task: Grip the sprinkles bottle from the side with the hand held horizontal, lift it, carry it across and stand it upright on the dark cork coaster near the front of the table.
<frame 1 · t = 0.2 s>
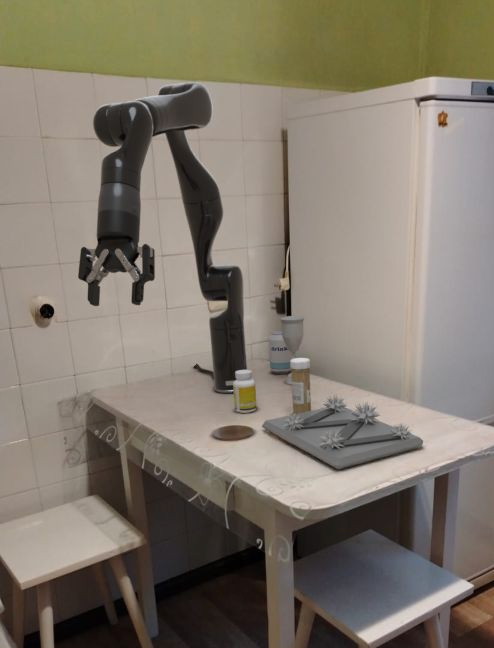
hand: (114, 304, 116), 31 cm above the table, tool tilted 20°, fingers open, 8 cm apart
coaster: (233, 433, 142), on the table
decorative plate: (338, 440, 135), on the table
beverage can: (281, 372, 194), on the table
supplement bottle: (245, 411, 158), on the table
sprinkles bottle: (301, 415, 152), on the table
chalice: (294, 382, 182), on the table
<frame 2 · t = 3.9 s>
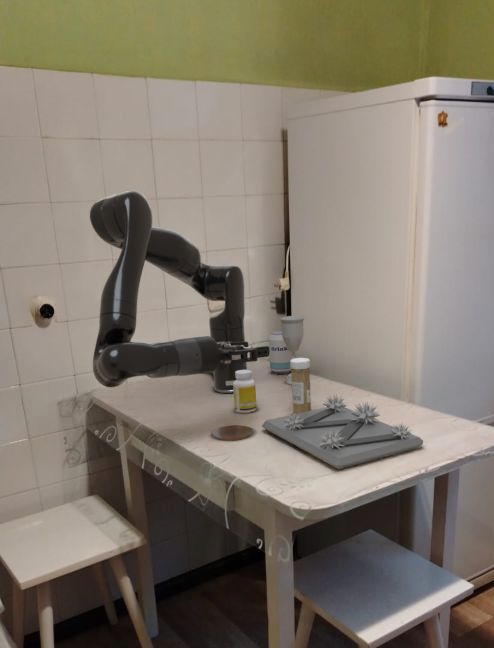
hand: (257, 348, 140), 18 cm above the table, tool horizontal, fingers open, 8 cm apart
nothing on the table moved.
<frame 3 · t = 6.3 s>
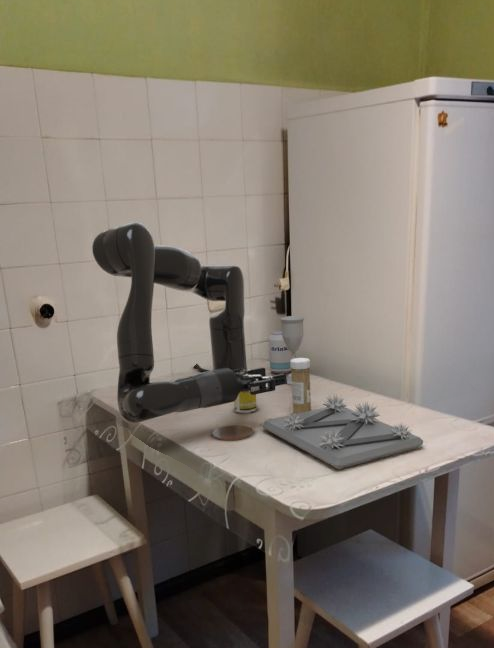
hand: (274, 375, 145), 11 cm above the table, tool horizontal, fingers open, 8 cm apart
nothing on the table moved.
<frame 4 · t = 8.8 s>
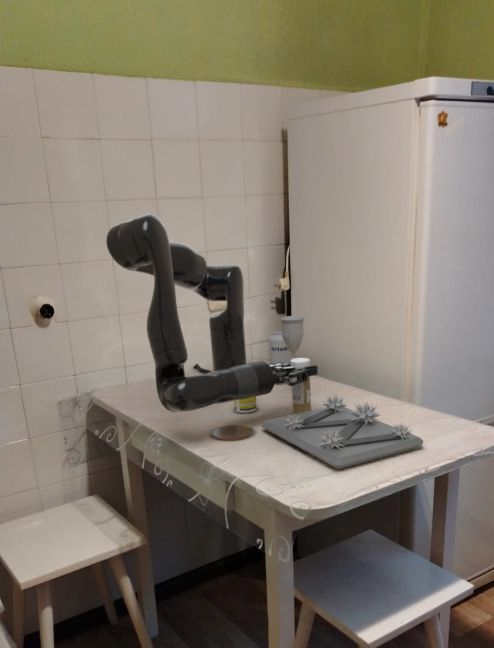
hand: (309, 367, 150), 11 cm above the table, tool horizontal, fingers closed on sprinkles bottle, 4 cm apart
sprinkles bottle: (301, 415, 152), on the table, touching gripper
everything else where it was.
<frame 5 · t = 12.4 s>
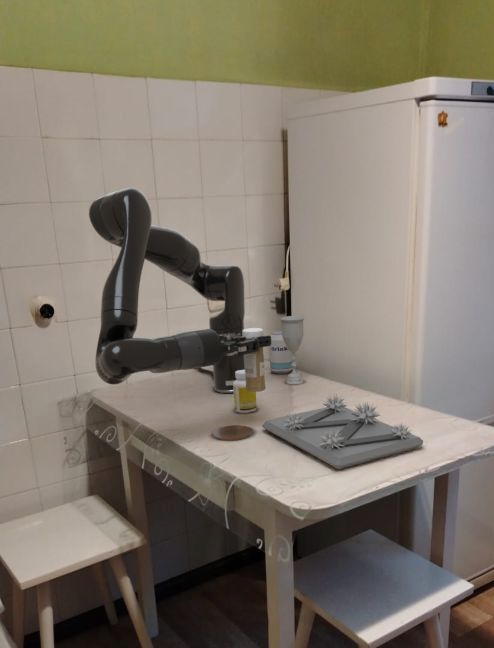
hand: (263, 338, 140), 20 cm above the table, tool horizontal, fingers closed on sprinkles bottle, 4 cm apart
sprinkles bottle: (255, 390, 142), point 9 cm above the table, touching gripper
everything else where it was.
when the fingers open (12 cm above the table, at t = 16.0 s): sprinkles bottle stays where it is, resting on coaster.
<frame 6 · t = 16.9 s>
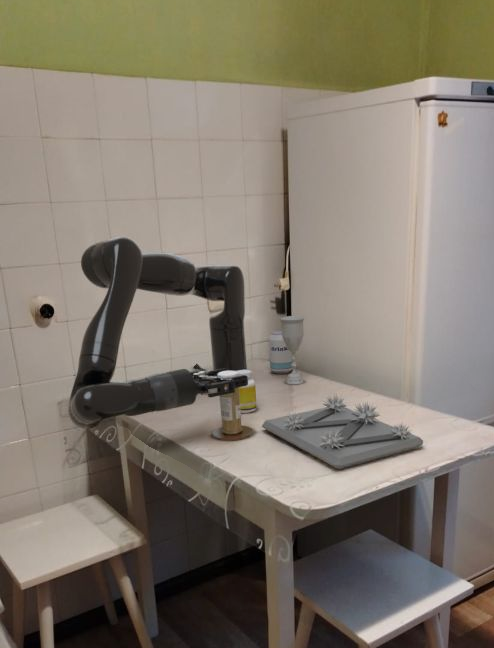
hand: (236, 376, 139), 13 cm above the table, tool horizontal, fingers open, 8 cm apart
sprinkles bottle: (232, 432, 142), resting on coaster
everything else where it was.
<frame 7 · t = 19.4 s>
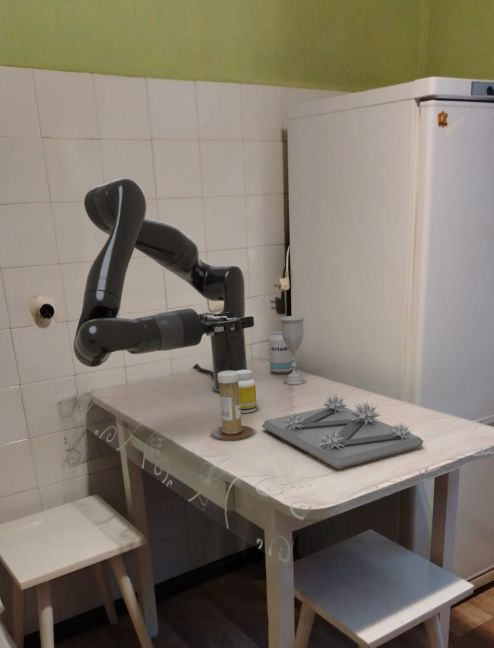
hand: (242, 318, 137), 24 cm above the table, tool horizontal, fingers open, 8 cm apart
nothing on the table moved.
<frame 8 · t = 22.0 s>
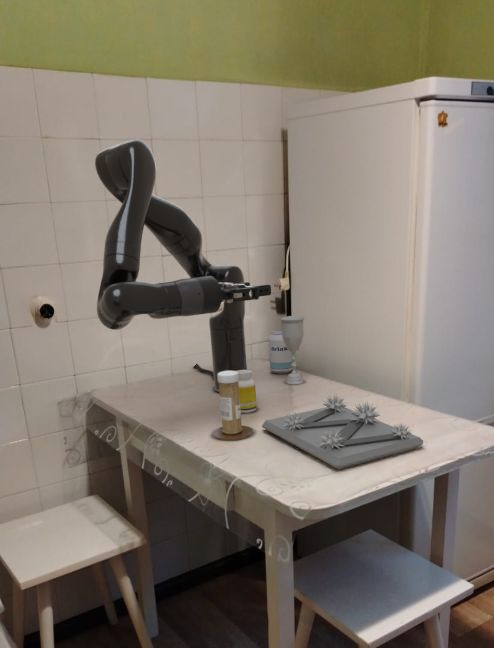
hand: (259, 288, 141), 30 cm above the table, tool horizontal, fingers open, 8 cm apart
nothing on the table moved.
at the end: sprinkles bottle 0.2 cm off-centre on the coaster, point 0.3 cm above the coaster's base; sprinkles bottle tilted 0°; the gripper is holding nothing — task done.
